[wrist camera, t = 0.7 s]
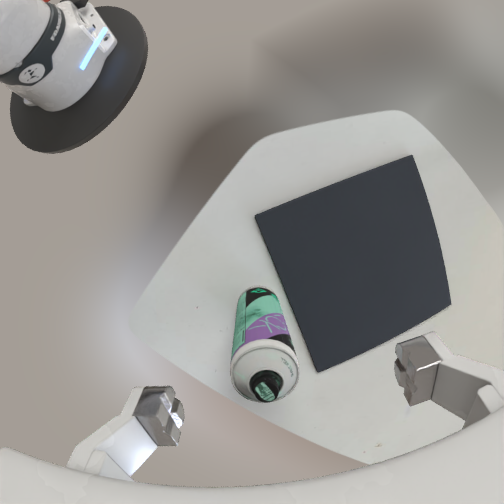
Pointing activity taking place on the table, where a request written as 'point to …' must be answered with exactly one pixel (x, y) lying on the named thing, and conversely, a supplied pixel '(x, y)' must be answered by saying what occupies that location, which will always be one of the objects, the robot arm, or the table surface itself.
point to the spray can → (262, 348)
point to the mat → (358, 260)
